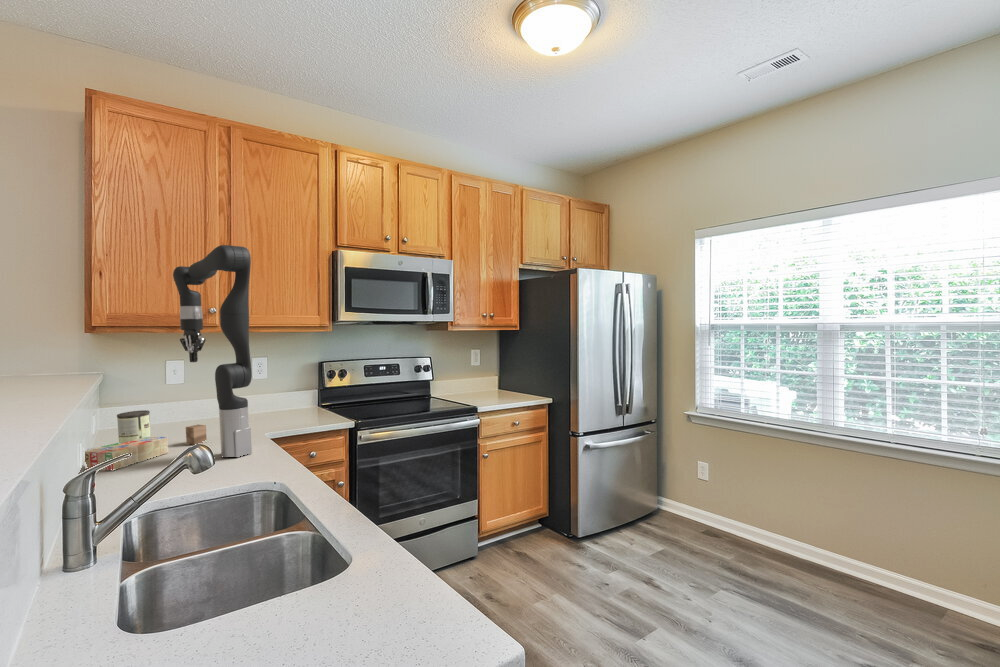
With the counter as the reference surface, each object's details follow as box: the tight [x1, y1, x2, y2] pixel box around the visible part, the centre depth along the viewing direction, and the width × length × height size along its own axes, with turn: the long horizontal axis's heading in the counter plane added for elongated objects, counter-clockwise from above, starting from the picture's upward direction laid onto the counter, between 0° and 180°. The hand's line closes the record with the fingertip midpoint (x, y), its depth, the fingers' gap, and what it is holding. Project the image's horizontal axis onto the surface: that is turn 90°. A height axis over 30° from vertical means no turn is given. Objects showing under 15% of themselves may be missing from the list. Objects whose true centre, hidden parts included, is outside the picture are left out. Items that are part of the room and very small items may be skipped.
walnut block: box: [185, 423, 208, 446], centre depth 198 cm, size 5×5×7 cm
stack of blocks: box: [85, 436, 169, 472], centre depth 174 cm, size 21×6×12 cm
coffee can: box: [116, 409, 152, 443], centre depth 192 cm, size 10×10×14 cm
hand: (193, 362), depth 193 cm, fingers closed
